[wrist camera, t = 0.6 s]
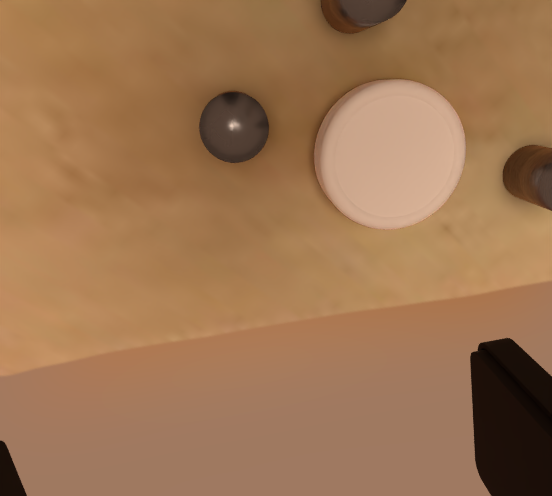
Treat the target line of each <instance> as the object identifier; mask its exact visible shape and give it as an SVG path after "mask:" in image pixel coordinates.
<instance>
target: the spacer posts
mask: <svg viewBox="0 0 552 496" xmlns="http://www.w3.org/2000/svg"><path fill="white" fill-rule="evenodd" d="M406 1H407V0H321V8H322V12H323V15H324V17H325V19H326V20H327V22H328V23H329V24H330V25H331V26H332V27H333V28H334V29H336V30H338V31H340V32H343V33H349V34H350V33H357V32H360V31H363V30H365V29H367V28H370V27H372V26H374V25H377V24H379V23H381V22H384V21H386V20H388V19H390V18H392V17H393V16H395V15H396V14H397V13H398V12H399V11H400V10H401V9H402V7H403V6H404V4H405V3H406ZM199 129H200V135H201V139H202V141H203V143H204V145H205V147H206V148H207V150H208V151H209V152H210V153H211V154H212V155H214V156H215V157H217V158H218V159H220V160H223V161H226V162H231V163H239V162H244V161H247V160H249V159H251V158H253V157H254V156H256V155H257V154H258V153H259V152H260V151H261V149H262V148H263V146H264V145H265V143H266V140H267V137H268V131H269V125H268V119H267V116H266V113H265V111H264V109H263V108H262V106H261V105H260V104H259V103H258V102H257V101H256V100H255V99H253V98H252V97H250V96H248V95H247V94H245V93H242V92H238V91H229V92H224V93H222V94H220V95H218V96H217V97H215V98H214V99H212V100H211V101H210V102H209V103H208V104H207V106H206V107H205V109H204V110H203V112H202V115H201V118H200V126H199ZM503 182H504V185H505V187H506V189H507V190H508V192H509V193H510V194H512V195H513V196H515V197H518V198H520V199H523V200H525V201H528V202H530V203H533V204H536V205H538V206H541V207H543V208H546V209H548V210H551V211H552V148H548V147H543V146H538V145H529V146H525V147H522V148H520V149H518V150H517V151H516V152H514V153H513V154H512V155H511V156H510V158H509V159H508V161H507V162H506V164H505V167H504V171H503Z"/></svg>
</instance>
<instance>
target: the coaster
mask: <svg viewBox="0 0 552 496" xmlns="http://www.w3.org/2000/svg"><path fill="white" fill-rule="evenodd" d="M465 156H466V141H465V134H464V129H463V126H462V124H461V121H460V119H459V117H458V115H457V113H456V111H455V110H454V108H453V107H452V106H451V104H450V103H449V102H448V101H447V100H446V99H445V98H444V97H443V96H442V95H441V94H440V93H438V92H437V91H435V90H434V89H432V88H430V87H429V86H426V85H424V84H422V83H419V82H415V81H412V80H405V79H386V80H377V81H371V82H368V83H365V84H362V85H360V86H358V87H356V88H354V89H352V90H351V91H349V92H348V93H346V94H345V95H344V96H342V97H341V98H340V99H339V100H338V101H337V102H336V103H335V104H334V105H333V106H332V107H331V109H330V110H329V112H328V113H327V114H326V116H325V118H324V120H323V122H322V124H321V126H320V128H319V131H318V134H317V137H316V141H315V148H314V165H315V171H316V175H317V178H318V181H319V184H320V186H321V188H322V190H323V191H324V193H325V194H326V196H327V197H328V198H329V199H330V201H331V202H332V203H333V204H334V205H335V206H336V208H337V209H338V210H339V211H340V212H341V213H343V214H344V215H345V216H346V217H348V218H349V219H351V220H353V221H355V222H357V223H359V224H361V225H364V226H367V227H370V228H375V229H384V230H385V229H399V228H404V227H408V226H411V225H414V224H416V223H418V222H421V221H423V220H424V219H426V218H428V217H429V216H431V215H432V214H433V213H434V212H436V211H437V210H438V209H439V208H440V207H441V206H442V205H443V204H444V203H445V202H446V201H447V199H448V198H449V197H450V196H451V194H452V193H453V191H454V189H455V188H456V186H457V184H458V182H459V179H460V177H461V174H462V171H463V168H464V163H465Z"/></svg>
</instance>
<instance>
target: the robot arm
mask: <svg viewBox="0 0 552 496" xmlns="http://www.w3.org/2000/svg"><path fill="white" fill-rule="evenodd" d="M470 361H471V382H472V403H473V423H474V444H475V461H476V466H477V469H478V473H479V475H480V478H481V479H482V481H483V483H484V485H485V486H486V488H487V489H488V491H489V493H490V494H491V496H552V376H550V374H548V373H547V372H546V371H545V370H544V369H543V368H542V367H541V366H540V365H539V364H538V363H537V362H536V361H534V360H533V359H532V358H531V357H530V356H529V355H528V354H527V353H526V352H525V351H524V350H523V349H522V348H521V347H519V346H518V345H517V344H516V343H515V342H514V341H513V340H512V339H510V338H505V339H499V340H494V341H489V342H483V343H480V344H479V346H478V351H476V352H472V353H471V357H470ZM0 496H27V495H26V493H25V490H24V488H23V485H22V483H21V480H20V478H19V476H18V473H17V471H16V468H15V466H14V463H13V461H12V458H11V456H10V453H9V451H8V448H7V446H6V444H5V443H4V442H3V441H0Z"/></svg>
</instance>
